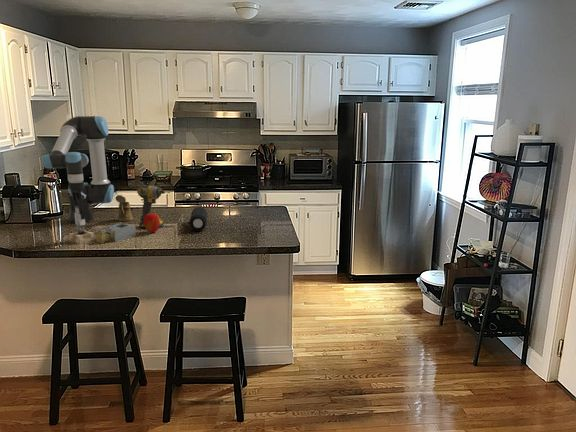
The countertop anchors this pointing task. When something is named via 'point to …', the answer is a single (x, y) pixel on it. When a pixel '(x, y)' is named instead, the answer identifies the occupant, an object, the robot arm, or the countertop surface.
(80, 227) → the rod
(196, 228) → the portable speaker
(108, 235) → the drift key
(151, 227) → the apple
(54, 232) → the countertop surface
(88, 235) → the wooden square frame
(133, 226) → the socket block
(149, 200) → the cordless drill
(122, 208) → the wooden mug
